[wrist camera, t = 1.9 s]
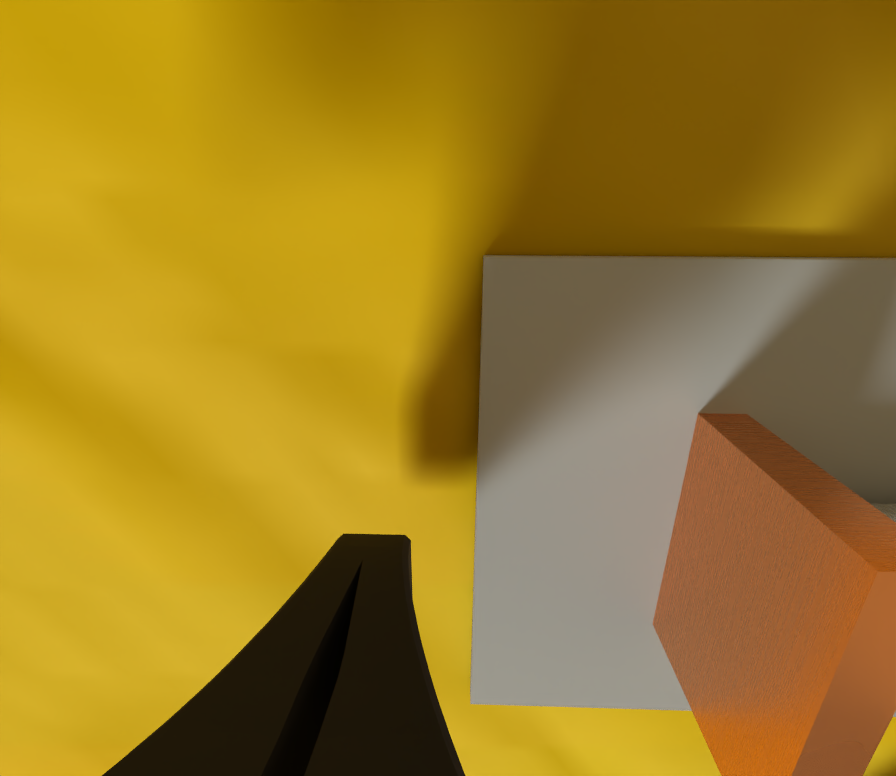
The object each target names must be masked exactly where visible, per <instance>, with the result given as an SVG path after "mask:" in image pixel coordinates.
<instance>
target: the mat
mask: <svg viewBox="0 0 896 776" xmlns="http://www.w3.org/2000/svg"><path fill="white" fill-rule="evenodd" d="M698 413H709V414H748V415H749V416H750V417H752V418H753V419H754V420H756V421H757V422H759V423H760V424H761V425H763V426H764V427H765V428H767V429H768V430H770V431H771V432H772V433H774V434H775V435H776V436H778V437H779V438H781V439H782V440H783V441H785V442H786V443H787V444H789V445H790V446H791V447H793V448H794V449H796V450H797V451H798V452H800V453H801V454H802V455H804V456H805V457H807V458H808V459H809V460H811V461H812V462H813V463H815V464H816V465H818V466H819V467H820V468H822V469H823V470H824V471H826V472H827V473H829V474H830V475H831V476H833V477H834V478H835V479H837V480H838V481H839V482H841V483H842V484H844V485H845V486H846V487H848V488H849V489H850V490H852V491H853V492H855V493H856V494H857V495H859V496H860V497H861V498H863V499H864V500H866V501H867V502H868V503H878V504H896V258H832V257H681V256H529V255H483V288H482V321H481V354H480V387H479V421H478V454H477V487H476V520H475V554H474V587H473V620H472V653H471V687H470V696H471V704H490V705H523V706H556V707H590V708H623V709H656V710H689V711H692V710H691V707H690V705H689V703H688V701H687V699H686V696H685V694H684V692H683V690H682V688H681V685H680V683H679V681H678V679H677V677H676V675H675V672H674V670H673V668H672V666H671V664H670V661H669V659H668V657H667V655H666V653H665V650H664V648H663V646H662V644H661V642H660V639H659V637H658V635H657V633H656V631H655V628H654V626H653V619H654V615H655V610H656V605H657V601H658V596H659V592H660V587H661V582H662V578H663V573H664V568H665V564H666V559H667V554H668V550H669V545H670V540H671V536H672V531H673V527H674V522H675V517H676V513H677V508H678V503H679V499H680V494H681V489H682V485H683V480H684V475H685V471H686V466H687V461H688V457H689V452H690V448H691V443H692V438H693V434H694V429H695V424H696V420H697V415H698ZM893 717H896V711H895V713H894V715H893Z"/></svg>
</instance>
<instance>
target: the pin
mask: <svg viewBox="0 0 896 776" xmlns="http://www.w3.org/2000/svg"><path fill="white" fill-rule="evenodd" d="M653 626H654V628H655V631H656V633H657V635H658V637H659V639H660V642H661V644H662V646H663V648H664V650H665V653H666V655H667V657H668V659H669V661H670V664H671V666H672V668H673V670H674V672H675V675H676V677H677V679H678V681H679V683H680V685H681V688H682V690H683V692H684V694H685V696H686V699H687V701H688V703H689V705H690V707H691V710H692V712H693V714H694V716H695V718H696V721H697V723H698V725H699V727H700V729H701V732H702V734H703V736H704V738H705V740H706V743H707V745H708V747H709V749H710V751H711V753H712V756H713V758H714V760H715V762H716V764H717V767H718V769H719V771H720V773H721V775H722V776H863V774H864V772H865V770H866V768H867V766H868V764H869V762H870V760H871V758H872V756H873V754H874V752H875V750H876V748H877V746H878V744H879V742H880V740H881V739H882V737H883V735H884V733H885V731H886V729H887V727H888V725H889V723H890V721H891V719H892V717H893V715H894V713H895V711H896V504H878V503H868V502H867V501H866V500H864V499H863V498H861V497H860V496H859V495H857V494H856V493H855V492H853V491H852V490H850V489H849V488H848V487H846V486H845V485H844V484H842V483H841V482H839V481H838V480H837V479H835V478H834V477H833V476H831V475H830V474H829V473H827V472H826V471H824V470H823V469H822V468H820V467H819V466H818V465H816V464H815V463H813V462H812V461H811V460H809V459H808V458H807V457H805V456H804V455H802V454H801V453H800V452H798V451H797V450H796V449H794V448H793V447H791V446H790V445H789V444H787V443H786V442H785V441H783V440H782V439H781V438H779V437H778V436H776V435H775V434H774V433H772V432H771V431H770V430H768V429H767V428H765V427H764V426H763V425H761V424H760V423H759V422H757V421H756V420H754V419H753V418H752V417H750V416H749V415H748V414H709V413H698V415H697V420H696V424H695V429H694V434H693V438H692V443H691V448H690V452H689V457H688V461H687V466H686V471H685V475H684V480H683V485H682V489H681V494H680V499H679V503H678V508H677V513H676V517H675V522H674V527H673V531H672V536H671V540H670V545H669V550H668V554H667V559H666V564H665V568H664V573H663V578H662V582H661V587H660V592H659V596H658V601H657V605H656V610H655V615H654V619H653Z"/></svg>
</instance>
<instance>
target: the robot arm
mask: <svg viewBox="0 0 896 776" xmlns="http://www.w3.org/2000/svg"><path fill="white" fill-rule="evenodd" d="M102 776H465V774H464V771H463V769H462V766H461V763H460V761H459V758H458V755H457V753H456V750H455V747H454V745H453V742H452V739H451V737H450V734H449V731H448V728H447V725H446V722H445V719H444V716H443V714H442V711H441V708H440V705H439V702H438V699H437V695H436V692H435V689H434V686H433V682H432V679H431V676H430V672H429V669H428V665H427V661H426V658H425V654H424V650H423V647H422V643H421V639H420V634H419V630H418V625H417V620H416V615H415V610H414V605H413V600H412V570H411V540H410V539H409V538H408V537H407V536H405V535H380V534H343V535H342V536H340V537H339V538H338V539H337V541H336V542H335V543H334V545H333V546H332V547H331V548H330V550H329V551H328V552H327V553H326V555H325V556H324V557H323V559H322V560H321V561H320V562H319V564H318V565H317V566H316V567H315V568H314V570H313V571H312V572H311V573H310V575H309V576H308V577H307V578H306V579H305V581H304V582H303V583H302V584H301V585H300V587H299V588H298V589H297V590H296V591H295V592H294V593H293V595H292V596H291V597H290V598H289V599H288V600H287V601H286V603H285V604H284V605H283V606H282V607H281V608H280V609H279V611H278V612H277V613H276V614H275V615H274V616H273V617H272V618H271V620H270V621H269V622H268V623H267V624H266V625H265V626H264V627H263V628H262V629H261V630H260V631H259V632H258V633H257V634H256V635H255V636H254V637H253V639H252V640H251V641H250V642H249V643H248V644H247V645H246V646H245V647H244V648H243V649H242V650H241V651H240V652H239V653H238V654H237V655H236V656H235V657H234V658H233V659H232V660H231V661H230V662H229V663H228V664H227V665H226V666H225V667H224V668H223V669H222V670H221V671H220V672H219V673H218V674H217V675H216V676H215V677H214V678H213V679H212V680H211V681H210V682H209V683H208V684H207V685H206V686H205V687H204V688H203V689H201V690H200V691H199V692H198V693H197V694H196V695H195V696H194V697H193V698H192V699H191V700H190V701H188V702H187V703H186V704H185V705H184V706H183V707H182V708H181V709H180V710H179V711H177V712H176V713H175V714H174V715H173V716H172V717H171V718H170V719H169V720H167V721H166V722H165V723H164V724H163V725H162V726H160V727H159V728H158V729H157V730H156V731H155V732H153V733H152V734H151V735H150V736H149V737H148V738H146V739H145V740H144V741H143V742H142V743H140V744H139V745H138V746H137V747H136V748H135V749H133V750H132V751H131V752H130V753H129V754H128V755H126V756H125V757H124V758H123V759H122V760H120V761H119V762H118V763H117V764H116V765H114V766H113V767H112V768H111V769H109V770H108V771H107V772H106V773H105V774H103V775H102Z"/></svg>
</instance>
